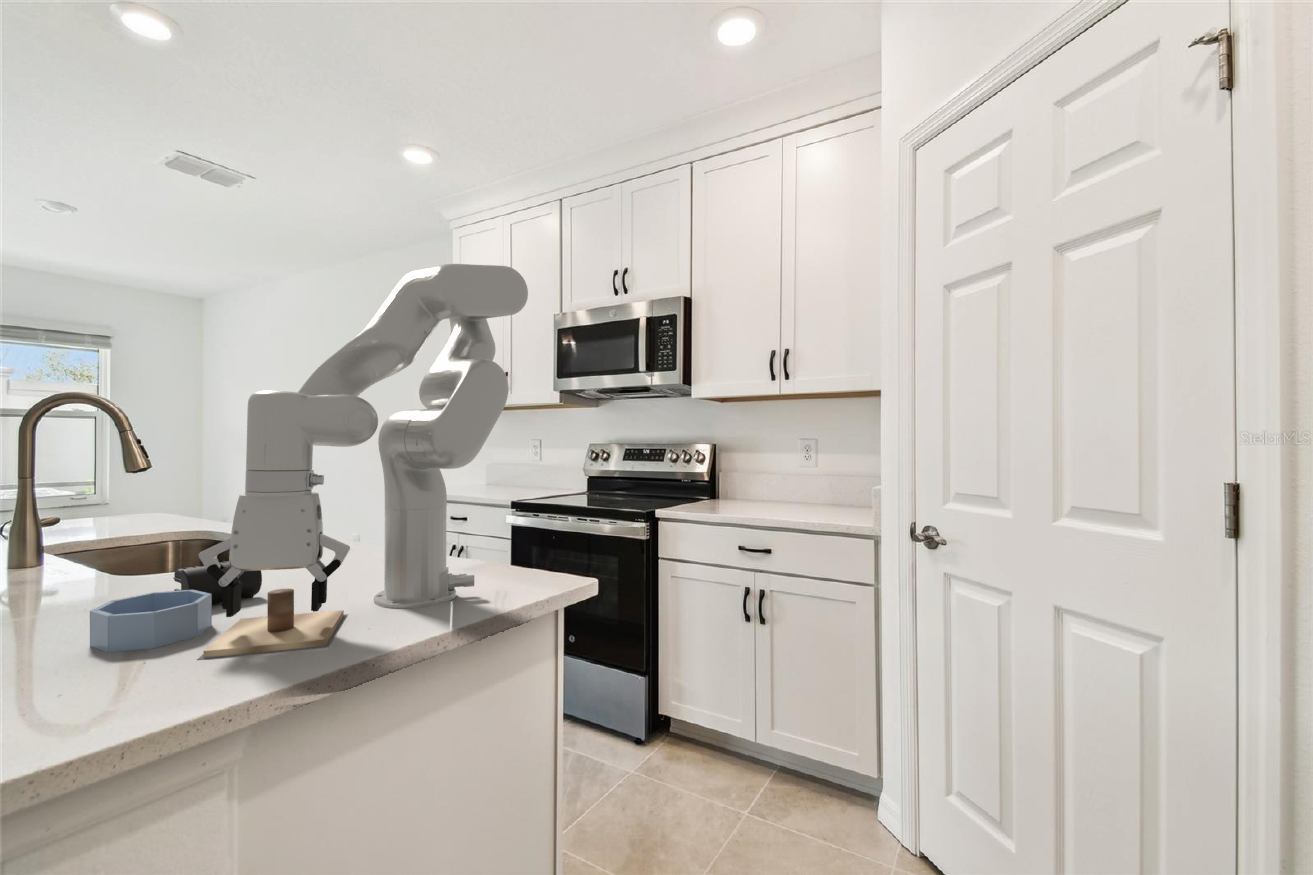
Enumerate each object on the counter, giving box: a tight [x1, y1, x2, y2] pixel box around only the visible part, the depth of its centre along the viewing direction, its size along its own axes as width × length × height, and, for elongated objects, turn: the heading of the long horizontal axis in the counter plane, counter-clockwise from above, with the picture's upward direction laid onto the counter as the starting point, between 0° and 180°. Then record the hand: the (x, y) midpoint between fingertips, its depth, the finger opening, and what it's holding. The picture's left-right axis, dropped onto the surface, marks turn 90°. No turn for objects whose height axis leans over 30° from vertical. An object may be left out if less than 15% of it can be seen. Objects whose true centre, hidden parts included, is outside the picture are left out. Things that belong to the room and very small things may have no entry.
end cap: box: [173, 560, 263, 606], centre depth 94 cm, size 10×7×7 cm
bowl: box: [89, 589, 213, 653], centre depth 79 cm, size 11×11×5 cm
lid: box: [202, 588, 345, 658], centre depth 79 cm, size 13×13×6 cm
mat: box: [196, 614, 349, 661], centre depth 79 cm, size 14×14×1 cm
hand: (275, 611), depth 79 cm, fingers open, 9 cm apart
